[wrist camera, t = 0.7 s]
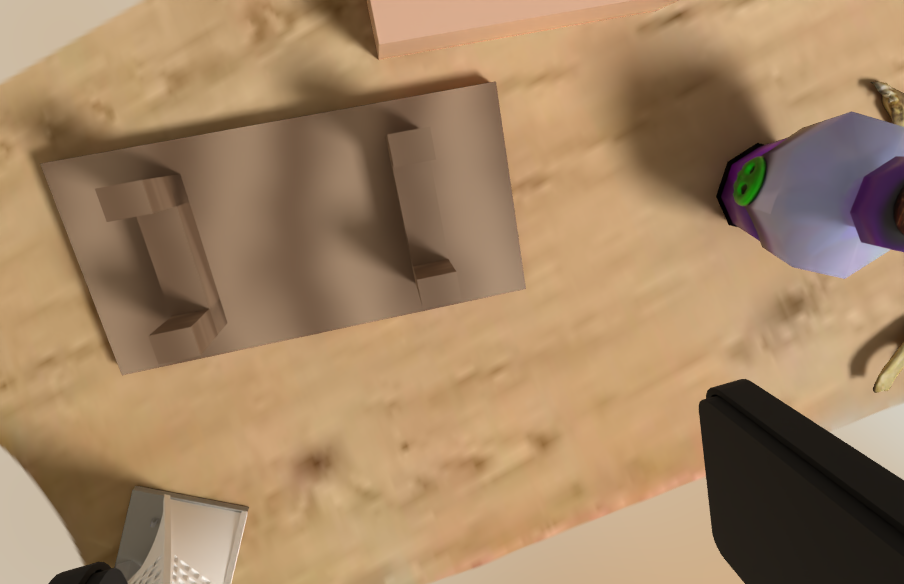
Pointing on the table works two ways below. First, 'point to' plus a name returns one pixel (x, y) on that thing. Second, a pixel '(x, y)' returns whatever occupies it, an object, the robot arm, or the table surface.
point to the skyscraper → (179, 539)
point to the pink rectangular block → (483, 20)
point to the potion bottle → (822, 194)
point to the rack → (293, 225)
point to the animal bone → (900, 110)
